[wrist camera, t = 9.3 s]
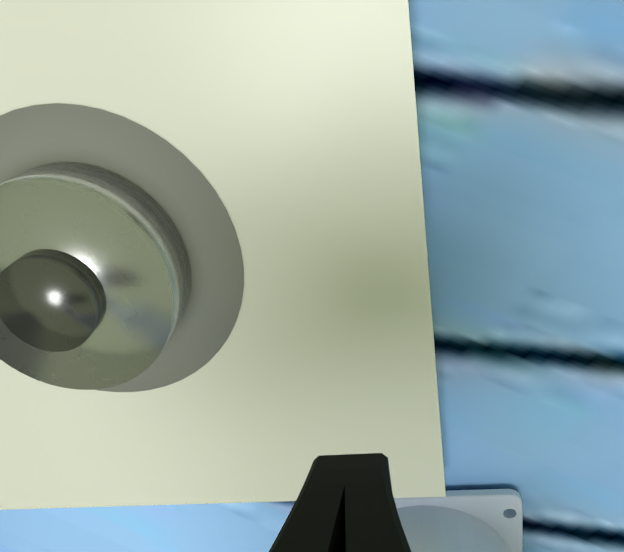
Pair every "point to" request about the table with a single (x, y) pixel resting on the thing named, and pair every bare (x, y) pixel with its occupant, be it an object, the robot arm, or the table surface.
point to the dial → (86, 276)
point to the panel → (235, 246)
